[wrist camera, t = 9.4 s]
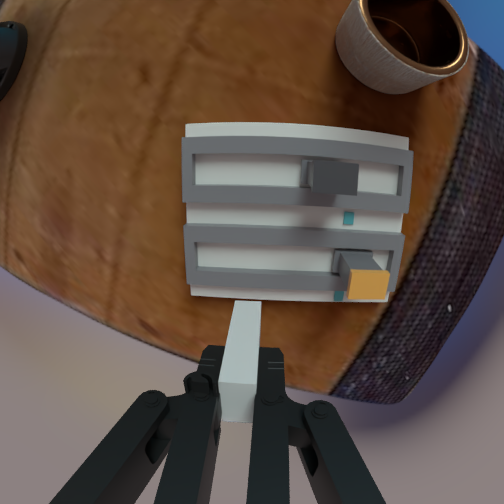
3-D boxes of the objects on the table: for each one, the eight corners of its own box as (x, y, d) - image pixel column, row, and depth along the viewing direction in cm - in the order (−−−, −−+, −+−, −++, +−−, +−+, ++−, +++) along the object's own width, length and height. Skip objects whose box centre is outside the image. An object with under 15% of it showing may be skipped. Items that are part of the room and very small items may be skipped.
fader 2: (334, 247, 28) (348, 272, 22) (371, 249, 28) (393, 273, 22) (331, 270, 29) (344, 299, 23) (367, 271, 29) (387, 299, 23)
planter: (329, 4, 22) (347, -41, 13) (417, 22, 21) (456, -8, 12) (336, 89, 25) (363, 62, 16) (428, 103, 24) (478, 91, 15)
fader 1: (301, 158, 26) (309, 159, 20) (343, 161, 25) (362, 164, 19) (300, 183, 26) (308, 192, 20) (341, 186, 26) (360, 196, 20)
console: (191, 125, 27) (182, 122, 24) (400, 138, 26) (413, 137, 23) (195, 287, 33) (188, 300, 30) (381, 293, 32) (390, 306, 29)
